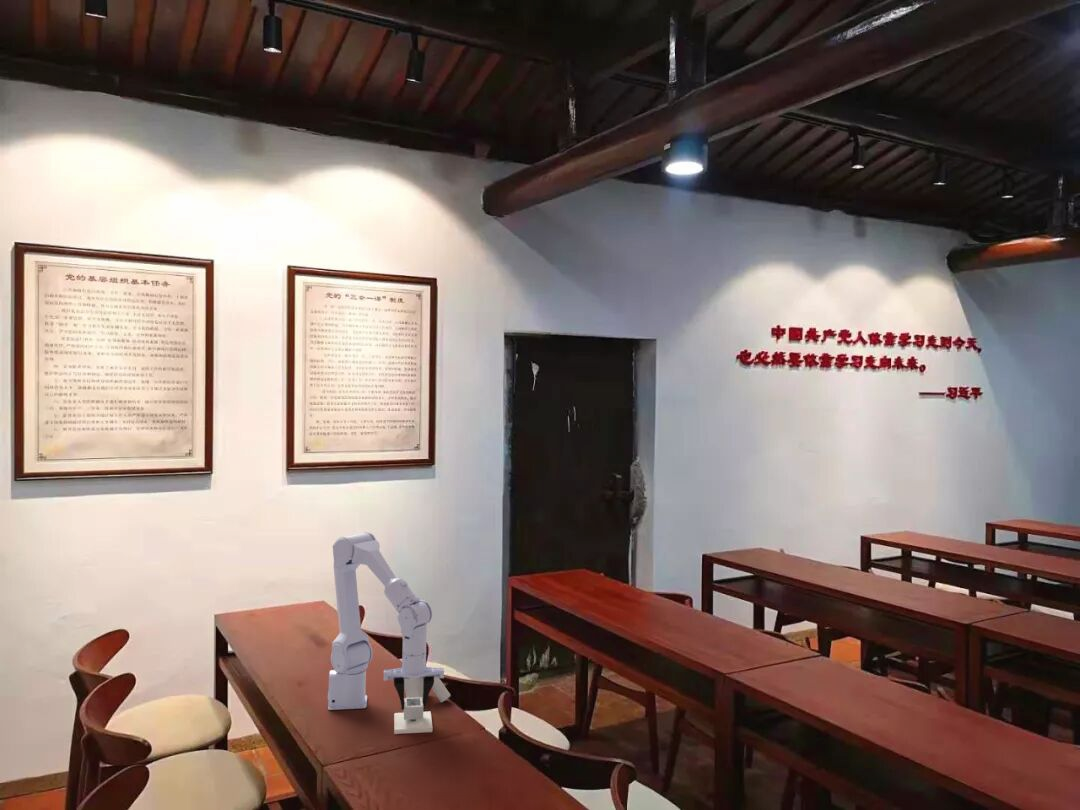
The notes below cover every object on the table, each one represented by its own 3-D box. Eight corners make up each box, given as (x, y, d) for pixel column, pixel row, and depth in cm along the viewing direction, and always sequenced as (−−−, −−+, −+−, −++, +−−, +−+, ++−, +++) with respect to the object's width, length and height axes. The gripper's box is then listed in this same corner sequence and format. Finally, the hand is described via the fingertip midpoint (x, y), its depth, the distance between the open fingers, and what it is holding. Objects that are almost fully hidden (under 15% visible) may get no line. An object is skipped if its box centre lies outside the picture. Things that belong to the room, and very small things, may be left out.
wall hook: (446, 706, 208) (438, 667, 209) (409, 711, 210) (401, 673, 211) (455, 694, 216) (448, 657, 216) (420, 700, 218) (412, 663, 218)
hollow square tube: (423, 718, 195) (423, 706, 195) (403, 719, 194) (404, 707, 194) (422, 709, 201) (422, 697, 201) (403, 709, 200) (403, 697, 200)
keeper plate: (394, 733, 192) (394, 715, 192) (394, 717, 202) (394, 699, 202) (432, 731, 194) (432, 713, 194) (430, 715, 204) (430, 697, 204)
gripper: (383, 658, 192) (382, 715, 193) (445, 656, 195) (444, 712, 195) (384, 649, 199) (383, 704, 200) (443, 647, 202) (442, 701, 202)
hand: (413, 707), depth 198 cm, fingers closed on hollow square tube, 4 cm apart
